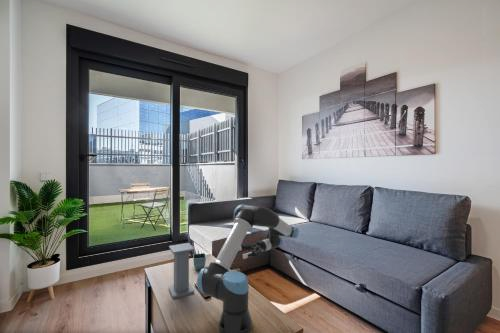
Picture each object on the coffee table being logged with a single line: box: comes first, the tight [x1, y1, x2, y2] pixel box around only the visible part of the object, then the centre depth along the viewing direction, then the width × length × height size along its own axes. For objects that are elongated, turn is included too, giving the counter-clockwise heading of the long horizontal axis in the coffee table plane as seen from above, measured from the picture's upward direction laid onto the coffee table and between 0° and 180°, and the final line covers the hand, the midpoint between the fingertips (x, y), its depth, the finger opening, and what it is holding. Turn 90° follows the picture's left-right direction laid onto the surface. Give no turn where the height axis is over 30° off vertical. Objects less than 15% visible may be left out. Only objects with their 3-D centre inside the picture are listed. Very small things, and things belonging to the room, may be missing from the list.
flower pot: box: [192, 252, 207, 271], centre depth 167 cm, size 9×9×9 cm
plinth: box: [168, 242, 195, 300], centre depth 136 cm, size 12×12×26 cm
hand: (237, 253), depth 154 cm, fingers open, 13 cm apart
